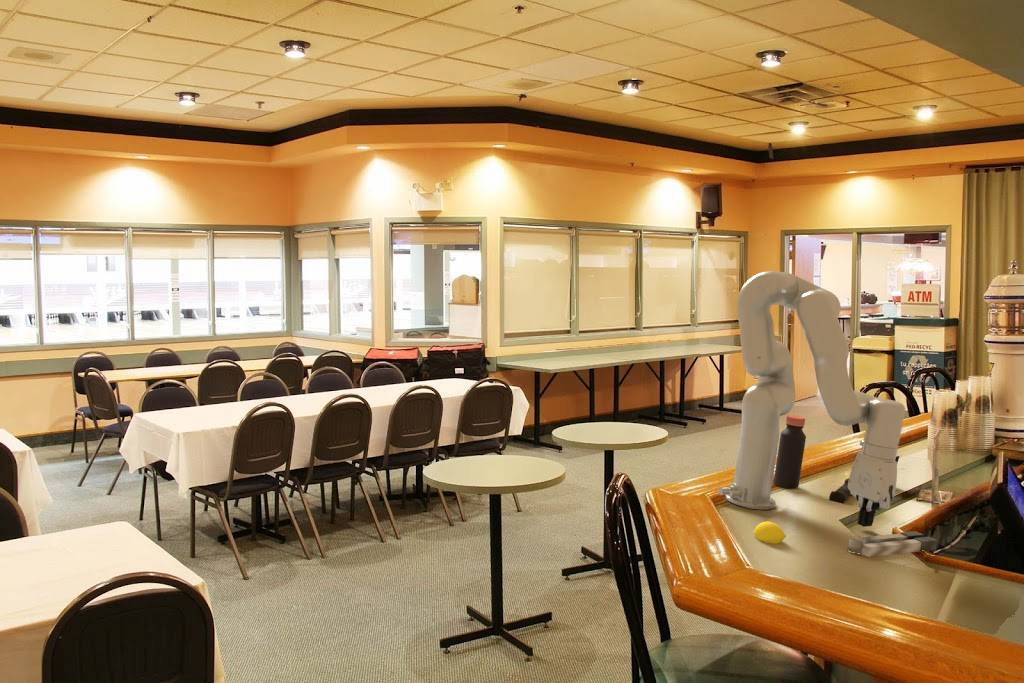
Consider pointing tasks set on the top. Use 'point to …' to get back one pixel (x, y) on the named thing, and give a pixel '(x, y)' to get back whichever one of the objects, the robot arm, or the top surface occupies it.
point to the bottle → (790, 453)
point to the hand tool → (841, 493)
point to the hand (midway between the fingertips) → (864, 525)
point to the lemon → (769, 533)
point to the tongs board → (892, 546)
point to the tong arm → (891, 537)
